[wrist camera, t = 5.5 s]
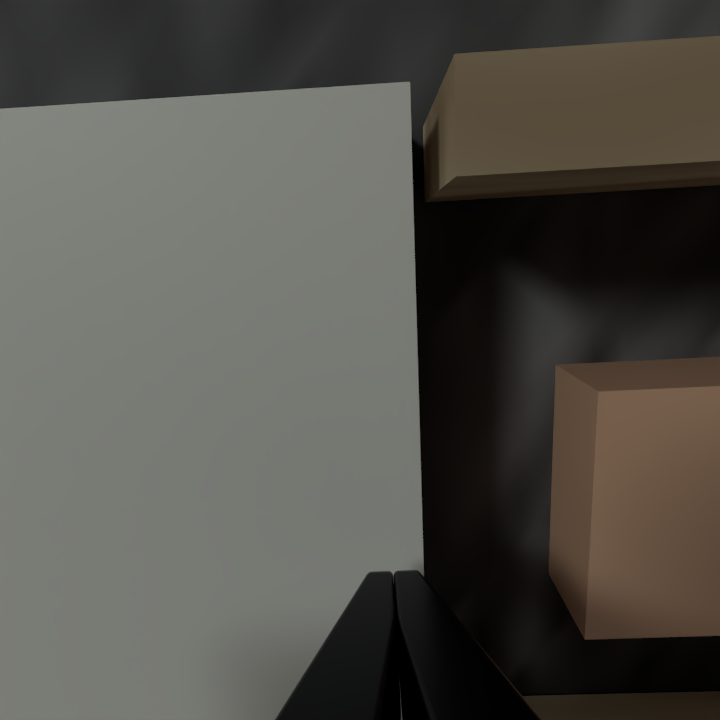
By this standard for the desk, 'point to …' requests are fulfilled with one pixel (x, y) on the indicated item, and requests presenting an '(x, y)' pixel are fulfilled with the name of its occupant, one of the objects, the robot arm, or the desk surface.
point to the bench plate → (201, 394)
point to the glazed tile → (637, 497)
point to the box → (581, 182)
